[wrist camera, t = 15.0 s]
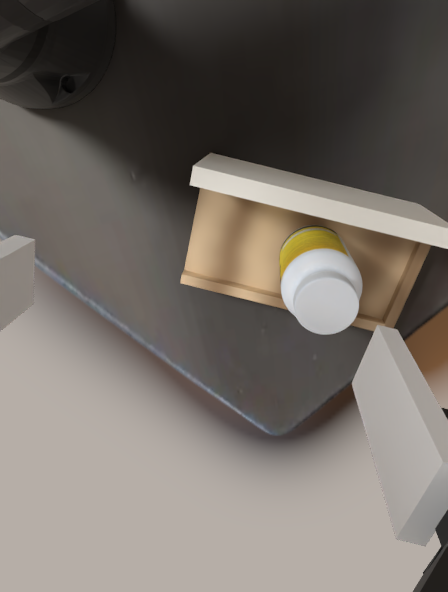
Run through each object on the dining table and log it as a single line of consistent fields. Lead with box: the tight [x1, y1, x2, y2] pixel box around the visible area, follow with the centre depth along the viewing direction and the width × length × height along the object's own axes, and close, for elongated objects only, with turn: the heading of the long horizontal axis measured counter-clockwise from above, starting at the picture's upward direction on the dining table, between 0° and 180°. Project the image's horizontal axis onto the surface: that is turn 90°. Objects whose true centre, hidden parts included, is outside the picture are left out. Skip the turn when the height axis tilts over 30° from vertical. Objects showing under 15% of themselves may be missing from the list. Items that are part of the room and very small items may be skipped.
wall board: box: [190, 153, 448, 249], centre depth 37 cm, size 21×2×10 cm, turn 77°
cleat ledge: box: [180, 188, 431, 331], centre depth 42 cm, size 22×11×4 cm, turn 77°
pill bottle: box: [279, 225, 362, 335], centre depth 36 cm, size 6×6×12 cm
